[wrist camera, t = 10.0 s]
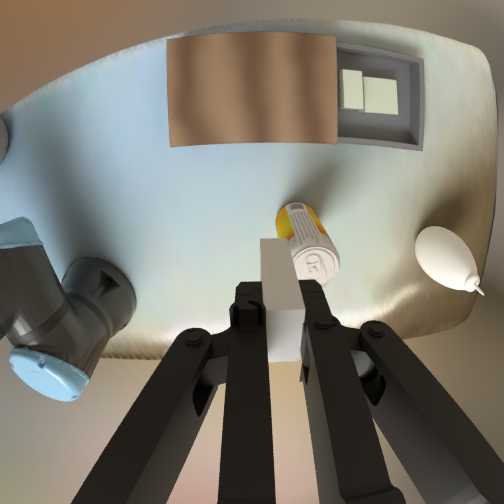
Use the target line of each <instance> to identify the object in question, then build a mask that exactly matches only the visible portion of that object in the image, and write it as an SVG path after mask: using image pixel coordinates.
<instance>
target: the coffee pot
mask: <svg viewBox="0 0 504 504" xmlns="http://www.w3.org/2000/svg"><path fill="white" fill-rule="evenodd" d="M8 142H9V136H8V131H7V128H6V125H5V123H4V121H3V120H2V118H1V117H0V165H1V163H2V162H3V160H4V158H5V154H6V151H7V148H8Z"/></svg>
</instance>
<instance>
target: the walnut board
mask: <svg viewBox="0 0 504 504" xmlns="http://www.w3.org/2000/svg"><path fill="white" fill-rule="evenodd" d="M167 96H168V119H169V137H170V147H179V146H192V145H207V144H226V143H264V142H284V143H322V144H337V59H336V37H335V36H328V35H319V34H307V33H291V32H234V33H218V34H206V35H197V36H188V37H181V38H174V39H167Z"/></svg>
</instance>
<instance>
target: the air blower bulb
mask: <svg viewBox="0 0 504 504" xmlns="http://www.w3.org/2000/svg"><path fill="white" fill-rule="evenodd" d="M415 254H416V257H417V260H418V262H419V264H420V266H421V267H422V269H423V270H424V271H425V272H426V273H427V274H428V275H429V276H430V277H431V278H432V279H434V280H435V281H437V282H438V283H440V284H442V285H444V286H446V287H449V288H453V289H457V290H467V291H469V292H471V291H473V290H475V289H476V290H477V291H479V292H480V293H481V294H482V295H484V293H483V292H482V290H481V289H480V288H479V287H478V284H479V276H478V275H477V268H476V264H475V261H474V258H473V256H472V254H471V252H470V250H469V248H468V247H467V246H466V244H465V243H464V242H463V241H462V239H461V238H460V237H458V236H457V235H456V234H455V233H453V232H452V231H450V230H448V229H446V228H443V227H438V226H432V227H427V228H425V229H423V230H422V231H421V232H420V234H419V235H418V237H417V239H416V242H415Z"/></svg>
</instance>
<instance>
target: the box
mask: <svg viewBox="0 0 504 504" xmlns="http://www.w3.org/2000/svg"><path fill="white" fill-rule="evenodd" d="M336 59H337V143H348V144H361V145H373V146H383V147H392V148H401V149H408V150H416V151H423V137H424V108H425V90H424V62H423V59H421V58H417V57H413V56H410V55H406V54H402V53H397V52H393V51H389V50H384V49H379V48H374V47H368V46H363V45H357V44H350V43H343V42H336ZM343 69H344V70H354V71H362V77H373V78H382V79H390V80H396V85H397V102H398V115H395V114H381V113H365V112H359V109H355V110H348V109H338V71H341V70H343Z"/></svg>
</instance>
